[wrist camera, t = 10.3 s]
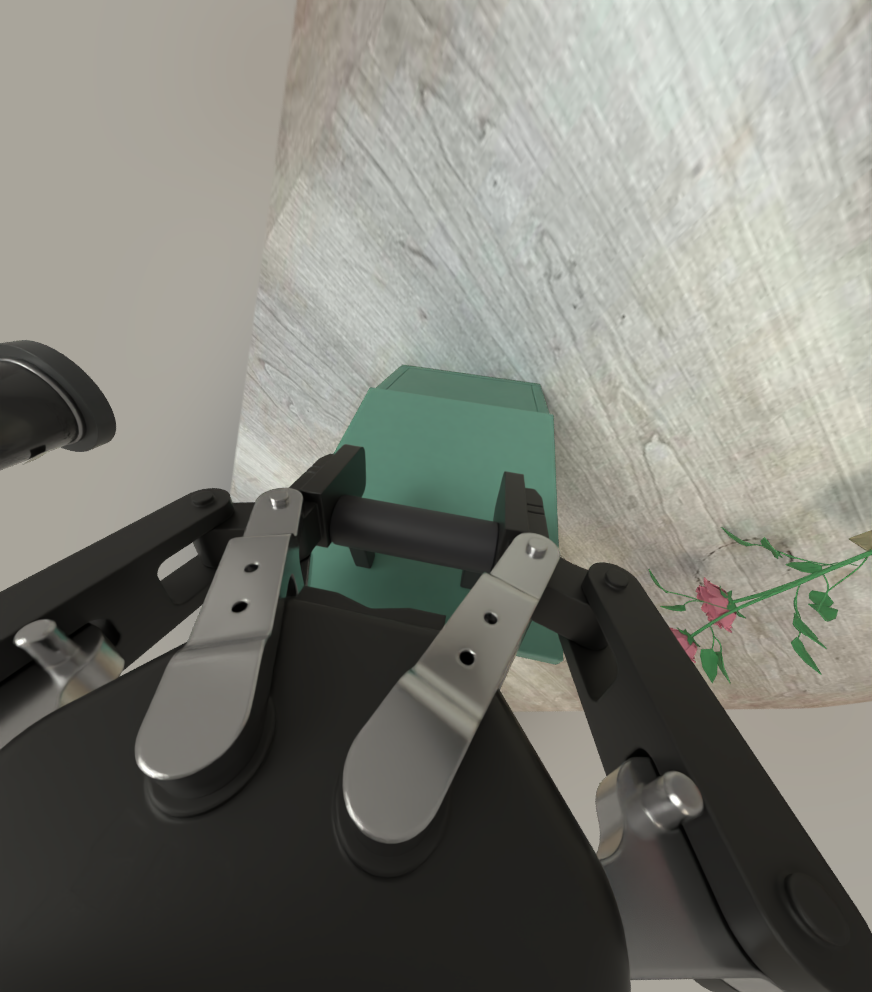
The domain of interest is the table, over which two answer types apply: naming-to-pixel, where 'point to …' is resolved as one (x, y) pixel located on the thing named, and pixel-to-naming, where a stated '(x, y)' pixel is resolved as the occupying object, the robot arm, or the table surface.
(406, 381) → the storage chest
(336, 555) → the chest lid
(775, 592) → the flower vase
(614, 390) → the table surface
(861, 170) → the table surface
